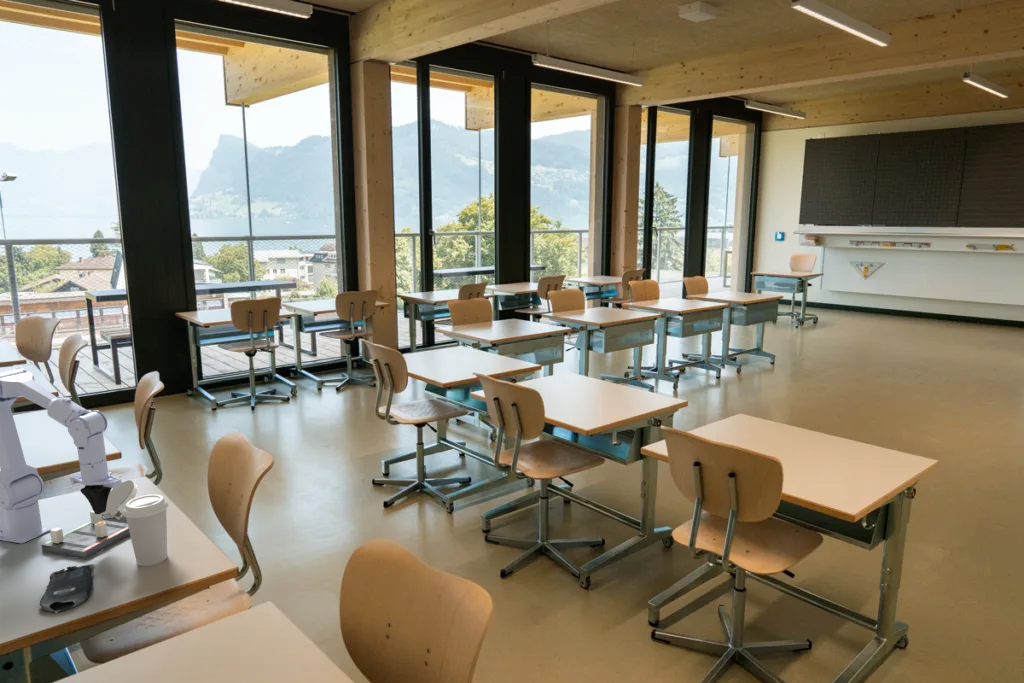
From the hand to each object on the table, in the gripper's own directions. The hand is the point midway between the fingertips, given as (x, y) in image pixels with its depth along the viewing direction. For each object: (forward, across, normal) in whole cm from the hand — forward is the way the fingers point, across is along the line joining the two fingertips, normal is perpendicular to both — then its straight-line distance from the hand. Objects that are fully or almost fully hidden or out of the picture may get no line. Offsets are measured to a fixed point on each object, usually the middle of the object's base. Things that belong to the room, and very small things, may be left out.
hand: (100, 512), depth 169 cm
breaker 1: (+6, +9, +6) cm, 12 cm away
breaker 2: (+6, +9, -6) cm, 12 cm away
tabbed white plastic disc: (+9, +12, -16) cm, 22 cm away
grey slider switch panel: (+8, +5, 0) cm, 10 cm away
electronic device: (+9, -13, +20) cm, 26 cm away
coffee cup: (+9, -18, +3) cm, 21 cm away
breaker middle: (+6, +1, 0) cm, 6 cm away
